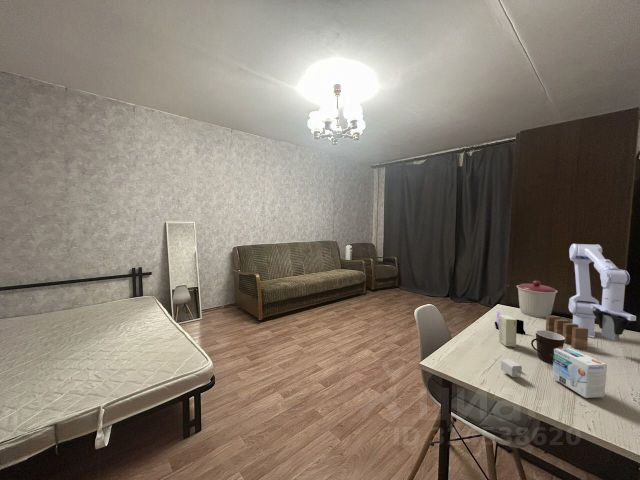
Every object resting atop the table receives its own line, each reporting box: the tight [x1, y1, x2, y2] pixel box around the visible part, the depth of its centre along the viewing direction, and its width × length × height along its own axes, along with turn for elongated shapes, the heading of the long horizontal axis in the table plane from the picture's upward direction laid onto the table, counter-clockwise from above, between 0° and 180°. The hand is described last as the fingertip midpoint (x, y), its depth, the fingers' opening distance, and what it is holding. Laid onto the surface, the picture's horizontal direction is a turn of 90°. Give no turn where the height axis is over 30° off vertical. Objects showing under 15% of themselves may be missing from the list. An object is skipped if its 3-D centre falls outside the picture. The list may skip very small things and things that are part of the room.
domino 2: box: [554, 319, 570, 336], centre depth 116 cm, size 2×5×9 cm, turn 86°
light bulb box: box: [551, 347, 608, 399], centre depth 81 cm, size 11×7×11 cm, turn 5°
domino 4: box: [570, 327, 589, 350], centre depth 107 cm, size 2×5×9 cm, turn 86°
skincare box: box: [498, 314, 518, 347], centre depth 111 cm, size 6×4×12 cm
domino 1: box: [545, 315, 561, 332], centre depth 120 cm, size 2×5×9 cm, turn 86°
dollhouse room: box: [494, 311, 527, 335], centre depth 128 cm, size 12×12×7 cm
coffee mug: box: [530, 329, 565, 364], centre depth 99 cm, size 12×9×10 cm
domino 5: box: [600, 315, 620, 342], centre depth 101 cm, size 2×5×9 cm, turn 177°
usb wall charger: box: [500, 358, 527, 378], centre depth 88 cm, size 4×7×4 cm, turn 8°
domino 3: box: [563, 322, 578, 345], centre depth 111 cm, size 2×5×9 cm, turn 86°
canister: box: [516, 280, 558, 319], centre depth 145 cm, size 18×18×21 cm
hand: (610, 331), depth 101 cm, fingers closed on domino 5, 5 cm apart
